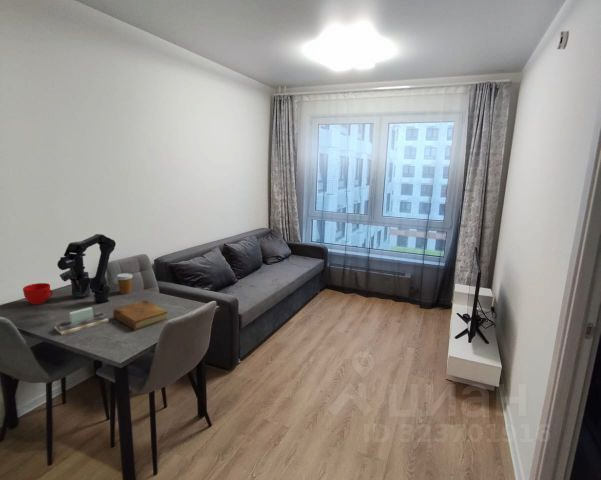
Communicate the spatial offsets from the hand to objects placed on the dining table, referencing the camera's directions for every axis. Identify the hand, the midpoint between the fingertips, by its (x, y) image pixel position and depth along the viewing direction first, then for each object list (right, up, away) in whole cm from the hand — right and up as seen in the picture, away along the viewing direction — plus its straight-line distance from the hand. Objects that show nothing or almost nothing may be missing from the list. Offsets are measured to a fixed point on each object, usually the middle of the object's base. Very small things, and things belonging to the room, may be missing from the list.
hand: (79, 291), depth 198 cm
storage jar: (-14, -7, +25) cm, 29 cm away
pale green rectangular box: (+10, -14, -13) cm, 22 cm away
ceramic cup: (-31, -9, +12) cm, 34 cm away
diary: (+36, -15, -3) cm, 39 cm away
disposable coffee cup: (+8, -6, +35) cm, 36 cm away
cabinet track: (+10, -15, -13) cm, 22 cm away
